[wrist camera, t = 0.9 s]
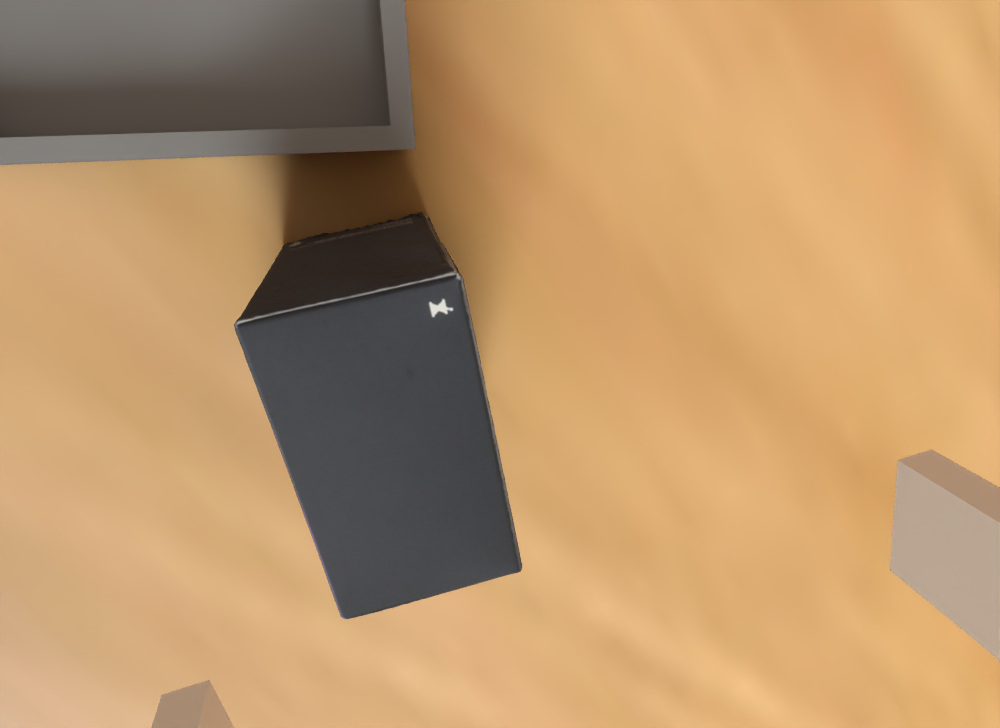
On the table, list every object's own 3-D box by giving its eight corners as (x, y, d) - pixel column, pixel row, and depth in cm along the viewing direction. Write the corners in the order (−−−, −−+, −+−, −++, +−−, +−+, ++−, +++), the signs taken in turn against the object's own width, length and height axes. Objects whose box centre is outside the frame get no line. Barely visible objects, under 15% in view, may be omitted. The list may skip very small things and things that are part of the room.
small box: (269, 243, 25) (215, 318, 16) (428, 208, 26) (469, 259, 17) (342, 465, 29) (334, 633, 20) (477, 429, 30) (533, 573, 21)
